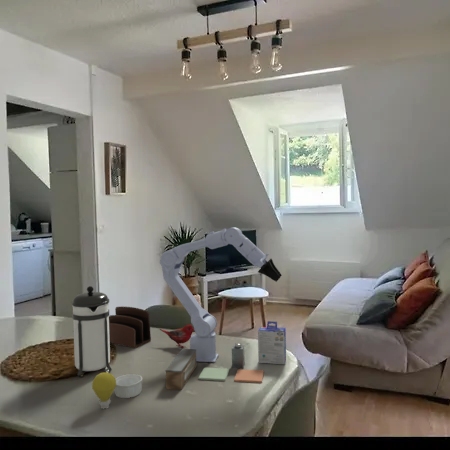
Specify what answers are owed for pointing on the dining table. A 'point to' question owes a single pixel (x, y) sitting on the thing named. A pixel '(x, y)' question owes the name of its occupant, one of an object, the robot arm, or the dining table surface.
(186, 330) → the decorative bird figurine
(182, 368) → the block
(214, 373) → the sage mat
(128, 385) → the ramekin
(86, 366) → the coffee press
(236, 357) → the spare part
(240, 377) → the terracotta mat
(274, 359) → the ink cartridge box
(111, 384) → the light bulb
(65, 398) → the dining table surface
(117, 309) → the letter holder
